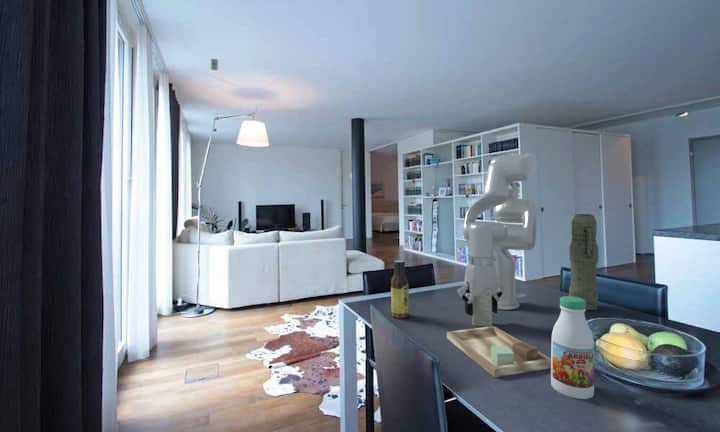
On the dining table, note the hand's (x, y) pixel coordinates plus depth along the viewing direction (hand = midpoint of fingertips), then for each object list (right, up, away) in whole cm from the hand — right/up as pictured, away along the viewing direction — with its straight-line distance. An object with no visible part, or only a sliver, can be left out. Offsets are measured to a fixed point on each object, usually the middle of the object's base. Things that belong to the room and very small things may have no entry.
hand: (481, 313), depth 107 cm
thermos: (+44, -3, +15) cm, 46 cm away
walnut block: (+1, -4, -26) cm, 27 cm away
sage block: (-5, -5, -28) cm, 29 cm away
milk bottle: (+5, -6, -38) cm, 38 cm away
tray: (-4, -5, -20) cm, 21 cm away
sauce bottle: (-26, -4, +10) cm, 28 cm away
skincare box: (0, -4, 0) cm, 4 cm away
